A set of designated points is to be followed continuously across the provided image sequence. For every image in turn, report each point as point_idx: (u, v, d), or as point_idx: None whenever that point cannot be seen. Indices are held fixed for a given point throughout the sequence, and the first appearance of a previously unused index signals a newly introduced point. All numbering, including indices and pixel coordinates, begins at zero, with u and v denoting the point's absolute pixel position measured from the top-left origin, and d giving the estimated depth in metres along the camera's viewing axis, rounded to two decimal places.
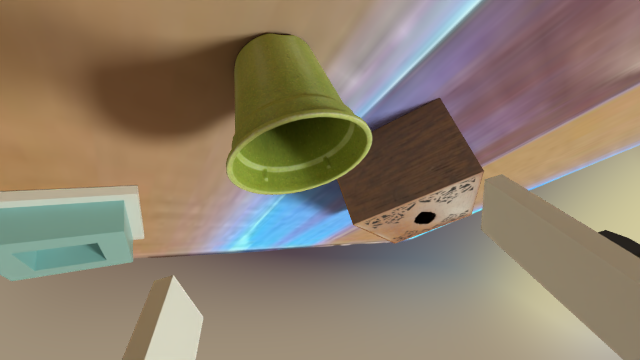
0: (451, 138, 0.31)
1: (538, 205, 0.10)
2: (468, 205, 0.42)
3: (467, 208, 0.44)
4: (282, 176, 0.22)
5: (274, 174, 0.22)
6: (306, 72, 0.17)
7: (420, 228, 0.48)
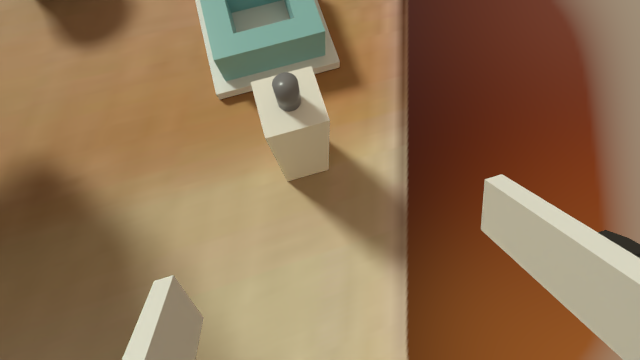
0: None
1: (538, 205, 0.10)
2: None
3: None
4: None
5: None
6: None
7: None
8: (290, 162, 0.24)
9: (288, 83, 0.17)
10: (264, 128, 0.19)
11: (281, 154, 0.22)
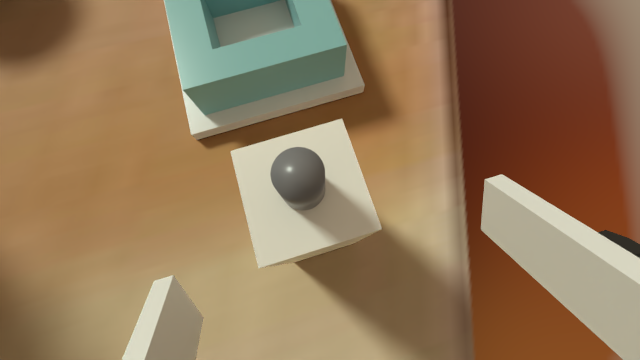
0: None
1: (538, 205, 0.10)
2: None
3: None
4: None
5: None
6: None
7: None
8: (301, 258, 0.15)
9: (304, 172, 0.08)
10: (256, 246, 0.10)
11: (287, 262, 0.13)
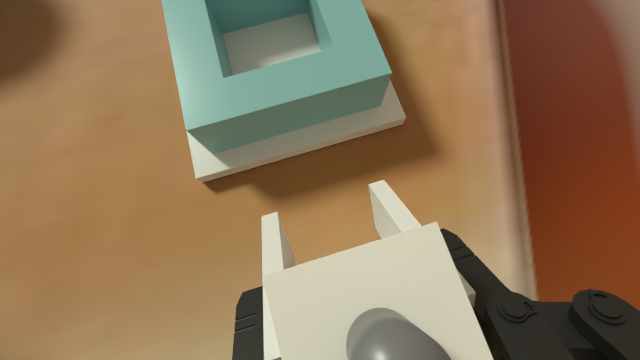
0: None
1: (395, 207, 0.11)
2: None
3: None
4: None
5: None
6: None
7: None
8: None
9: None
10: None
11: None
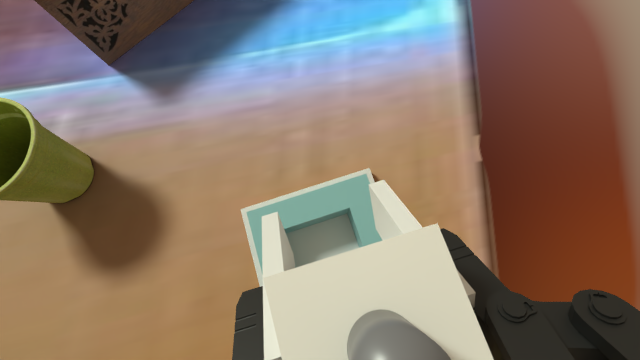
0: None
1: (395, 207, 0.11)
2: None
3: None
4: None
5: None
6: None
7: None
8: None
9: None
10: None
11: None
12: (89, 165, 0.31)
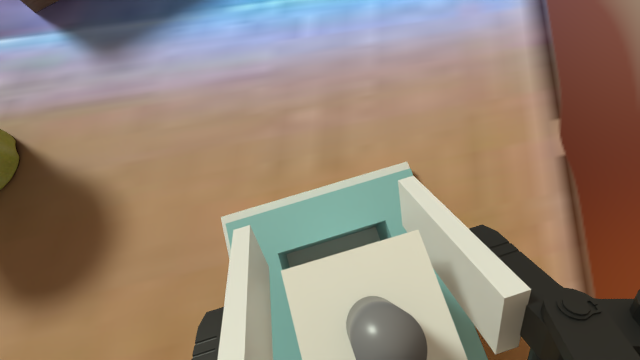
0: None
1: (430, 203, 0.11)
2: None
3: None
4: None
5: None
6: None
7: None
8: None
9: (400, 346, 0.06)
10: None
11: None
12: (11, 150, 0.22)
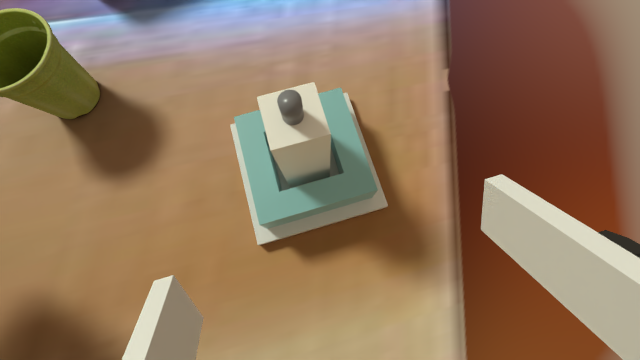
0: None
1: (538, 205, 0.10)
2: None
3: None
4: None
5: None
6: (8, 84, 0.31)
7: None
8: (293, 170, 0.26)
9: (292, 100, 0.19)
10: (269, 141, 0.20)
11: (284, 163, 0.23)
12: (96, 86, 0.35)
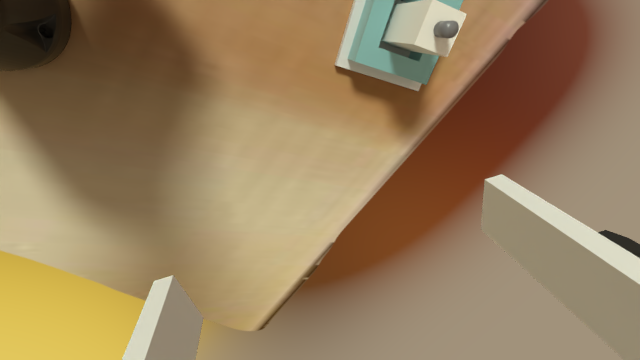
0: None
1: (538, 205, 0.10)
2: None
3: None
4: None
5: None
6: None
7: None
8: (399, 44, 0.36)
9: (452, 30, 0.29)
10: (418, 37, 0.31)
11: (404, 44, 0.34)
12: None
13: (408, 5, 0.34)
